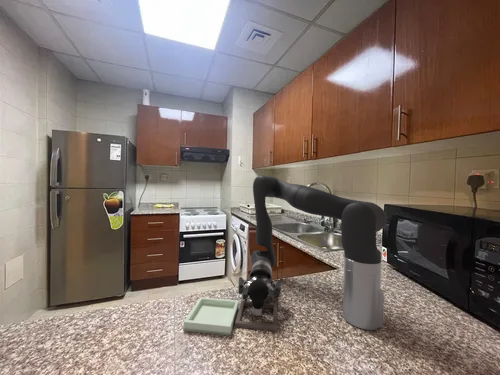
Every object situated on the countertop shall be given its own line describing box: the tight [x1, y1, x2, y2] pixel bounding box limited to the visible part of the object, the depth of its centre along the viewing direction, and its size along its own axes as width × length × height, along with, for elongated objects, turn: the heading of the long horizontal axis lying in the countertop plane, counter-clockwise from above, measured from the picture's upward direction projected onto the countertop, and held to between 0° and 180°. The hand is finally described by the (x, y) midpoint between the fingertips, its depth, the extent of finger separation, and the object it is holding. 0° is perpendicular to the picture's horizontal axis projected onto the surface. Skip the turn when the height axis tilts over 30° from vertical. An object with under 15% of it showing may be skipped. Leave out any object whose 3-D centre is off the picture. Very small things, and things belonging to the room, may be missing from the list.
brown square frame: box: [234, 300, 278, 332], centre depth 59 cm, size 11×11×1 cm
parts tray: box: [183, 296, 240, 336], centre depth 57 cm, size 12×12×2 cm
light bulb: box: [248, 280, 268, 317], centre depth 59 cm, size 6×6×10 cm
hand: (257, 299), depth 57 cm, fingers closed on light bulb, 6 cm apart
